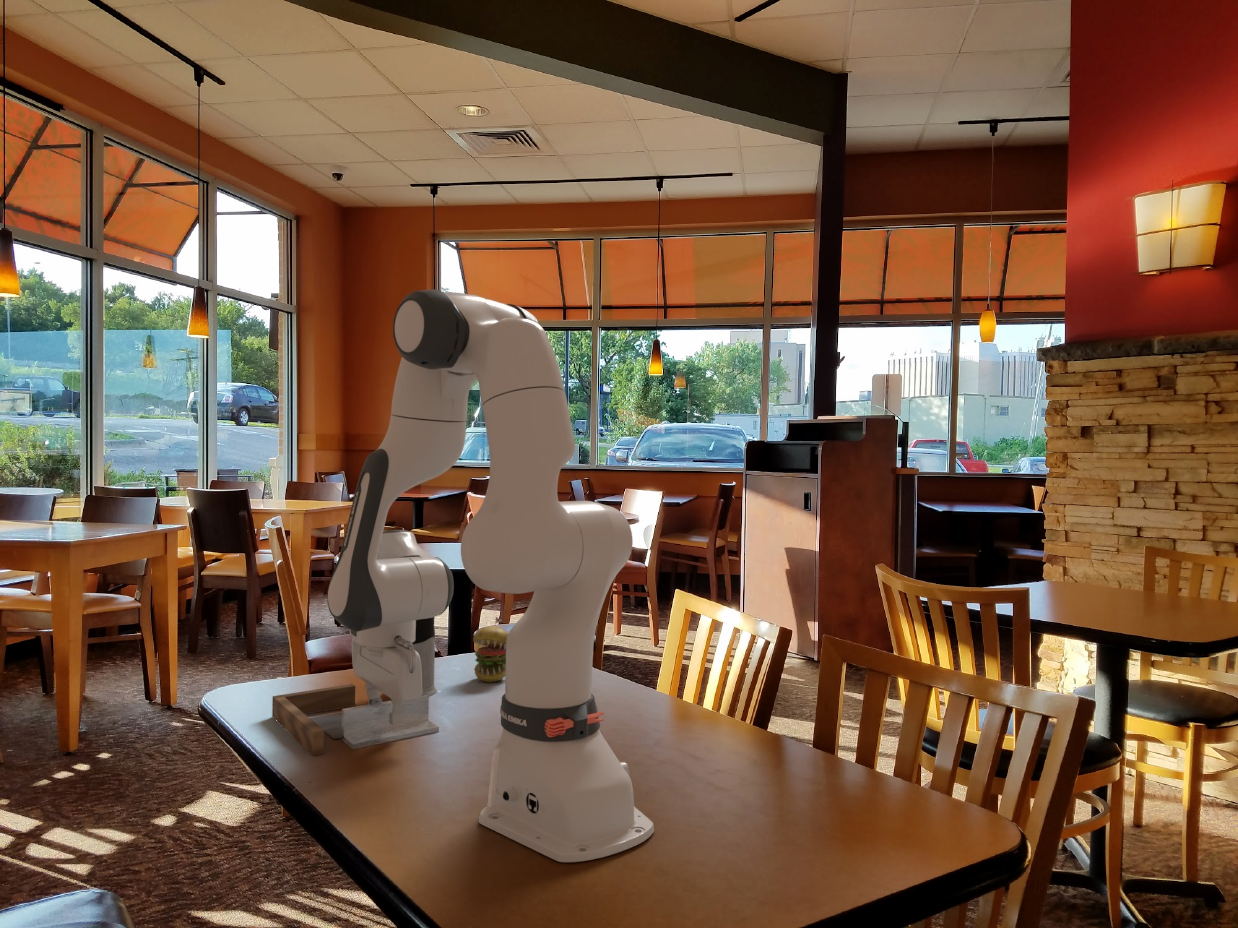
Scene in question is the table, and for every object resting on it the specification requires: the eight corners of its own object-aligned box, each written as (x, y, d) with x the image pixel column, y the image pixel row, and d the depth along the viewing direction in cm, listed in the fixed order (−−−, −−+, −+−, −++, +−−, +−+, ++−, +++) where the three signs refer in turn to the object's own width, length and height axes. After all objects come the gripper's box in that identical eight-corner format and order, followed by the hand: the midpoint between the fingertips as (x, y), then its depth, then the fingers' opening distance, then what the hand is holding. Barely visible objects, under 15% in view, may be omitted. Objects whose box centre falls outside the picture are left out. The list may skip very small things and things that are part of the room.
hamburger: (467, 682, 162) (468, 621, 162) (479, 673, 169) (480, 614, 169) (505, 685, 161) (506, 623, 161) (515, 675, 168) (517, 616, 168)
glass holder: (446, 689, 157) (447, 610, 157) (395, 709, 145) (397, 623, 144) (409, 683, 161) (410, 605, 161) (356, 702, 148) (358, 618, 148)
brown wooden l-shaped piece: (400, 738, 131) (401, 715, 130) (313, 755, 122) (313, 732, 122) (351, 703, 148) (352, 683, 148) (272, 716, 139) (272, 696, 139)
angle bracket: (425, 724, 138) (426, 694, 138) (438, 733, 134) (439, 702, 134) (341, 740, 129) (341, 708, 129) (352, 750, 125) (353, 717, 125)
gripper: (433, 641, 127) (431, 731, 127) (382, 617, 143) (380, 697, 143) (394, 646, 123) (392, 739, 123) (345, 621, 139) (343, 703, 139)
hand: (385, 716), depth 133 cm, fingers open, 7 cm apart
